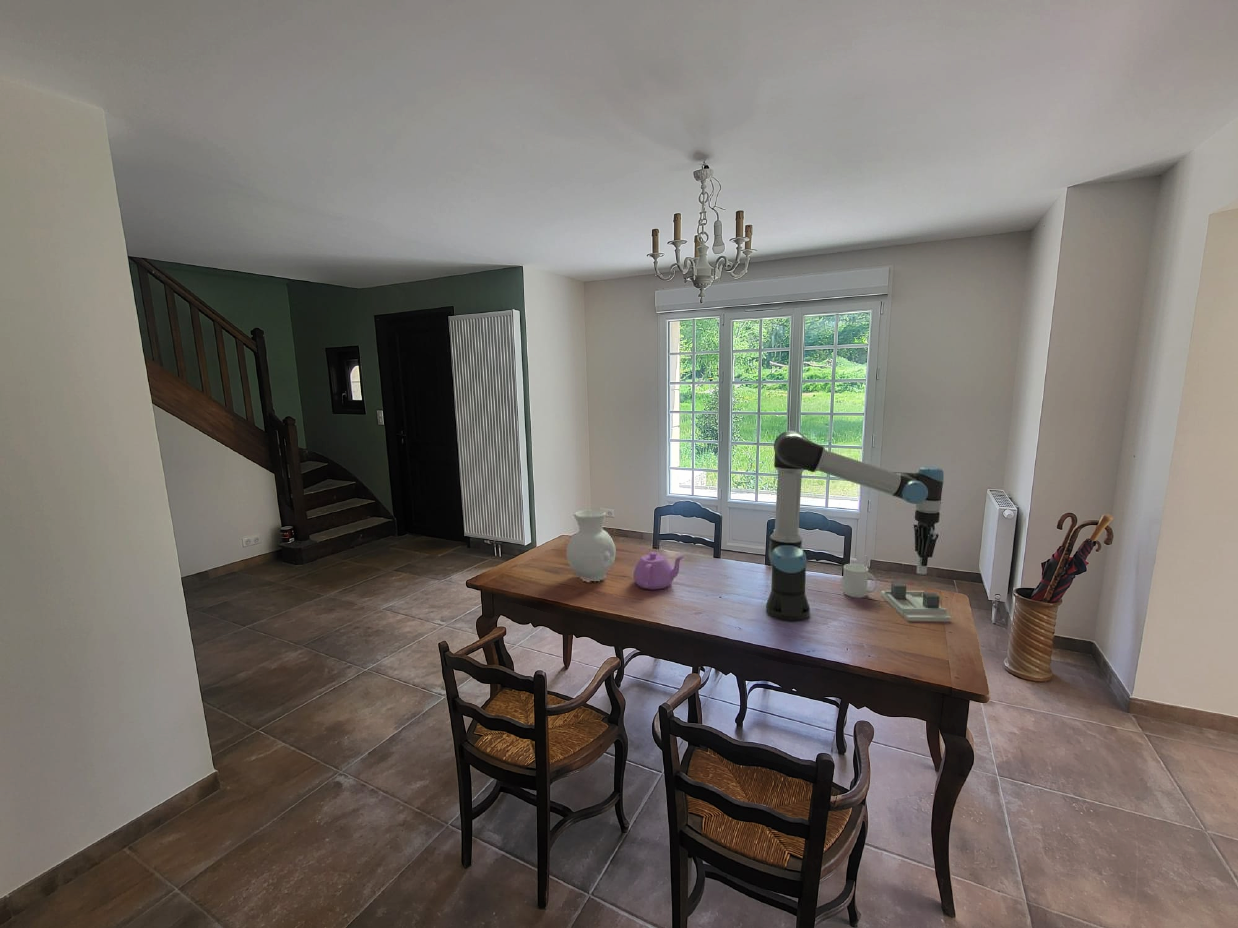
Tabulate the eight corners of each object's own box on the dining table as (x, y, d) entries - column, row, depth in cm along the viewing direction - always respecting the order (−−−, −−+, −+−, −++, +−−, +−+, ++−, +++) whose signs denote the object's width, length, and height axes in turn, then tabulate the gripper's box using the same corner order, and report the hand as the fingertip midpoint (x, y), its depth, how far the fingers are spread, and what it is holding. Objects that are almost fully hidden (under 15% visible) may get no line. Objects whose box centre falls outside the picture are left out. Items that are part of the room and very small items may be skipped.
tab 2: (926, 609, 177) (927, 596, 176) (922, 606, 180) (923, 593, 179) (938, 610, 177) (939, 596, 176) (934, 606, 180) (935, 593, 179)
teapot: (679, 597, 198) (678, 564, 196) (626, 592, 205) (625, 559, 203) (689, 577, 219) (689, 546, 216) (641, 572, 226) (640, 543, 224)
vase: (623, 574, 224) (621, 509, 220) (596, 591, 207) (593, 521, 202) (590, 567, 234) (587, 504, 230) (561, 583, 217) (557, 515, 212)
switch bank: (907, 620, 173) (908, 612, 173) (880, 594, 195) (881, 587, 194) (950, 621, 172) (951, 613, 172) (918, 594, 194) (919, 587, 193)
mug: (874, 602, 189) (875, 575, 187) (840, 594, 196) (841, 568, 194) (878, 594, 195) (880, 567, 194) (845, 587, 203) (846, 562, 201)
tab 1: (894, 598, 187) (895, 586, 186) (890, 595, 190) (891, 582, 189) (905, 598, 186) (906, 586, 186) (901, 595, 189) (902, 583, 188)
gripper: (948, 515, 172) (941, 580, 176) (929, 506, 185) (923, 567, 189) (925, 514, 173) (919, 579, 177) (907, 505, 186) (902, 566, 190)
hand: (921, 573), depth 183 cm, fingers closed
